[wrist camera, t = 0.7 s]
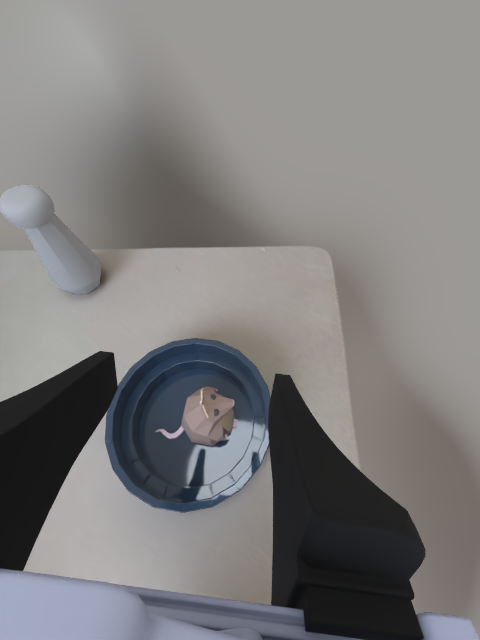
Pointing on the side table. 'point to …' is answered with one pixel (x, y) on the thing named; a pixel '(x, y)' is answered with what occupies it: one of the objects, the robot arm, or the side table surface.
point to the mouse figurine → (206, 418)
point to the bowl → (181, 454)
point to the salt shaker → (52, 239)
